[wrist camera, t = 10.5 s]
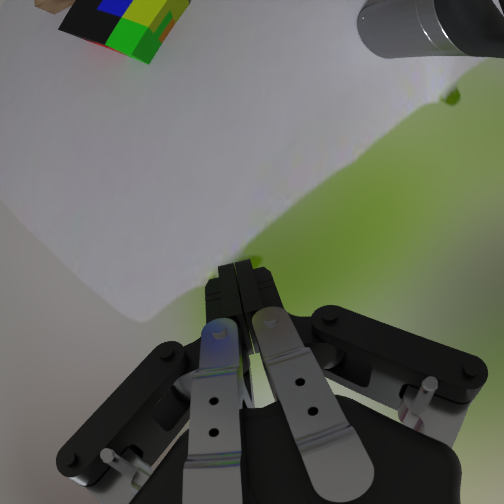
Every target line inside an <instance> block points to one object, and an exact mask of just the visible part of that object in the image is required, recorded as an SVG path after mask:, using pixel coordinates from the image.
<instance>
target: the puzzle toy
mask: <svg viewBox="0 0 504 504" xmlns="http://www.w3.org/2000/svg"><path fill="white" fill-rule="evenodd" d="M188 5H189V0H75V2H74V3H73V5H72V7H71V8H70V10H69V12H68V13H67V15H66V16H65V18H64V20H63V22H62V23H61V25H60V27H59V29H58V30H61V31H63V32H66V33H69V34H71V35H74V36H76V37H79V38H82V39H84V40H86V41H89V42H92V43H95V44H98V45H100V46H103V47H106V48H109V49H111V50H114V51H117V52H119V53H122V54H124V55H127V56H129V57H132V58H134V59H137V60H139V61H142V62H144V63H146V64H150V62H151V60H152V59H153V57H154V55H155V54H156V52H157V51H158V49H159V47H160V46H161V44H162V43H163V41H164V40H165V38H166V37H167V35H168V34H169V32H170V31H171V29H172V28H173V26H174V25H175V23H176V22H177V20H178V19H179V18H180V16H181V15H182V14H183V12H184V11H185V9H186V8H187V7H188Z"/></svg>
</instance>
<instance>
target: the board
mask: <svg viewBox="0 0 504 504" xmlns="http://www.w3.org/2000/svg"><path fill="white" fill-rule="evenodd" d="M74 2H75V0H35V7H38V8H40V9H43V10H45V11H47V12H50V13H52V14H56V13H58V12H60V11H61V10H63V9H65V8H67V7H69V6H71V5H73V3H74Z"/></svg>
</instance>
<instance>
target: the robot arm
mask: <svg viewBox="0 0 504 504" xmlns="http://www.w3.org/2000/svg"><path fill="white" fill-rule="evenodd" d="M499 3H500V6H501V8H502V11H503V14H504V0H499ZM357 27H358V32H359V35H360V37H361V39H362V41H363V42H364V44H365V45H366V46H367V47H368V48H369V50H370V51H372V52H373V53H375V54H376V55H378V56H380V57H383V58H391V59H392V58H404V57H423V56H474V57H496V58H504V17H503V15H502V14H501V13H500V11H499V10H498V8H497V7H496V5H495V4H494V3H493V1H492V0H383V1H380V2H377V3H375V4H372V5H370V6H368V7H366V8H364V9H363V10H362V11H361V12H360V14H359V16H358V21H357ZM235 267H236V271H235ZM235 267H234V263H230V264H226V265H222V266H218V273H219V277H218V278H214V279H209V281H208V283H207V284H206V286H205V301H206V325H205V326H204V328H203V330H202V333H201V337H200V338H199V339H197V340H196V341H194V342H193V343H190V344H188V345H186V346H184V347H183V346H182V345H181V344H180V343H178V342H176V341H168V342H164V343H162V344H160V345H158V346H157V347H156V348H155V349H154V350H153V351H152V352H151V353H150V354H149V355H148V356H147V357H146V358H145V359H144V360H143V361H142V362H141V363H140V365H139V366H138V367H137V368H136V369H135V370H134V371H133V372H132V373H131V374H130V375H129V376H128V377H127V378H126V379H125V381H123V383H122V384H121V385H120V386H119V387H118V388H117V389H116V390H115V391H114V392H113V393H112V394H111V395H110V397H108V398H107V400H106V401H105V402H104V403H103V404H102V405H101V406H100V407H99V408H98V409H97V410H96V411H95V412H94V413H93V415H92V416H91V417H90V418H89V419H88V420H87V421H86V422H85V423H84V424H83V425H82V426H81V427H80V429H78V431H77V432H76V433H75V434H74V435H73V436H72V437H71V438H70V439H69V440H68V441H67V442H66V443H65V445H64V446H63V447H62V448H61V449H60V450H59V452H58V454H57V457H56V465H57V468H58V470H59V472H60V473H61V474H62V475H64V476H65V477H67V478H69V479H70V480H73V481H74V482H75V483H76V484H78V485H79V486H81V487H83V488H85V489H87V490H88V491H89V492H90V493H91V494H92V495H93V496H94V497H95V498H96V499H97V500H98V501H99V502H100V503H101V504H460V485H461V475H462V471H461V464H460V461H459V459H458V457H457V455H456V453H455V452H454V451H453V450H452V449H451V448H452V446H453V444H454V441H455V439H456V437H457V434H458V432H459V430H460V427H461V425H462V423H463V420H464V417H465V415H466V412H467V409H468V407H469V405H470V404H471V403H472V401H473V400H474V398H475V397H476V395H477V394H478V393H479V391H480V390H481V388H482V387H483V385H484V384H485V382H486V380H487V377H488V369H487V366H486V364H485V363H484V362H483V361H482V360H481V359H480V358H479V357H477V356H474V355H471V354H468V353H466V352H463V351H460V350H457V349H454V348H451V347H449V346H446V345H443V344H440V343H437V342H434V341H432V340H428V339H426V338H423V337H421V336H418V335H415V334H412V333H410V332H407V331H404V330H401V329H399V328H396V327H393V326H390V325H388V324H385V323H382V322H379V321H377V320H374V319H371V318H369V317H366V316H363V315H361V314H358V313H355V312H353V311H350V310H347V309H345V308H342V307H340V306H335V305H327V306H323V307H320V308H318V309H317V310H315V312H314V313H313V314H312V316H311V317H298V316H294V315H291V314H289V313H288V312H287V311H286V310H285V309H284V307H283V305H282V302H281V299H280V296H279V294H278V291H277V288H276V286H275V283H274V280H273V277H272V275H271V272H270V271H269V270H267V269H266V268H265V267H260V268H256V269H253V268H252V264H251V261H250V259H247V260H243V261H239V262H235ZM236 272H237V275H236ZM249 331H250V332H249ZM250 335H251V337H250ZM251 338H252V342H253V346H254V350H255V353H259V352H260V356H261V359H262V363H263V367H264V370H265V373H266V376H267V379H268V382H269V384H270V388H271V390H272V393H273V396H274V399H275V402H274V403H272V404H270V405H267V406H266V407H263V408H255V406H254V396H253V386H252V375H251V368H250V359H249V355H251V354H254V352H253V347H252V342H251ZM325 377H326V378H329V379H330V380H333V381H335V382H337V383H339V384H341V385H343V386H345V387H347V388H349V389H351V390H353V391H355V392H357V393H360V394H362V395H364V396H366V397H369V398H371V399H372V400H375V401H377V402H380V403H382V404H384V405H386V406H388V407H391V408H393V409H395V410H397V411H398V417H399V419H400V421H401V422H402V423H403V424H404V425H403V424H401V423H399V422H397V421H395V420H393V419H390V418H389V417H387V416H385V415H383V414H381V413H378V412H377V411H375V410H373V409H371V408H369V407H367V406H365V405H362V404H361V403H359V402H357V401H355V400H353V399H350V398H348V397H345V396H340V395H334V394H333V392H332V390H331V388H330V386H329V384H328V382H327V380H326V378H325ZM164 394H165V395H164ZM158 401H159V402H158ZM189 419H190V422H189V429H188V430H187V431H185V432H184V433H183V434H182V435H181V436H180V437H179V439H178V440H177V441H176V443H175V444H174V445H173V447H172V448H171V449H170V451H169V452H168V453H167V455H166V456H165V457H164V459H163V460H162V461H161V463H160V464H159V465H158V466H157V468H156V469H155V470H154V472H153V473H152V469H151V466H152V465H153V464H154V462H155V461H156V460H157V459H158V458H159V456H160V455H161V454H162V453H163V452H164V450H165V449H166V448H167V447H168V445H169V444H170V443H171V442H172V440H173V439H174V438H175V437H176V436H177V434H178V433H179V432H180V430H181V429H182V428H183V427H184V425H185V424H186V423H187V422H188V420H189Z"/></svg>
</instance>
